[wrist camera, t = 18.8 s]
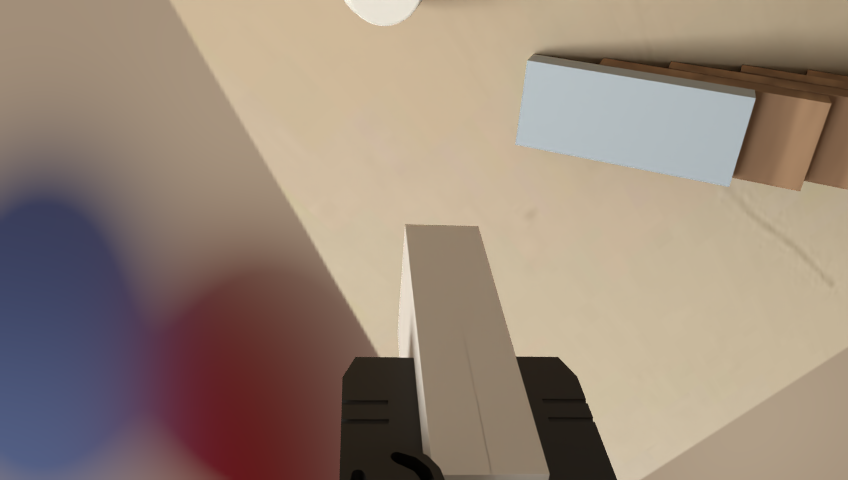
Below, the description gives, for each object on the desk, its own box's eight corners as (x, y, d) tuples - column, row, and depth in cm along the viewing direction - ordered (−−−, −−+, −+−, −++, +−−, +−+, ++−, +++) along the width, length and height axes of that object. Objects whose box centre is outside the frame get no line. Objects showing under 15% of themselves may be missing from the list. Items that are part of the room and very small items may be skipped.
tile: (515, 144, 43) (729, 186, 40) (527, 60, 41) (755, 98, 38) (521, 136, 45) (729, 176, 41) (533, 53, 42) (754, 89, 39)
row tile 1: (583, 147, 44) (800, 191, 40) (599, 64, 41) (831, 103, 38) (587, 138, 45) (797, 180, 42) (603, 57, 43) (828, 95, 39)
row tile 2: (649, 149, 44) (869, 193, 41) (668, 67, 42) (905, 106, 38) (652, 141, 46) (866, 183, 42) (670, 61, 43) (900, 98, 40)
